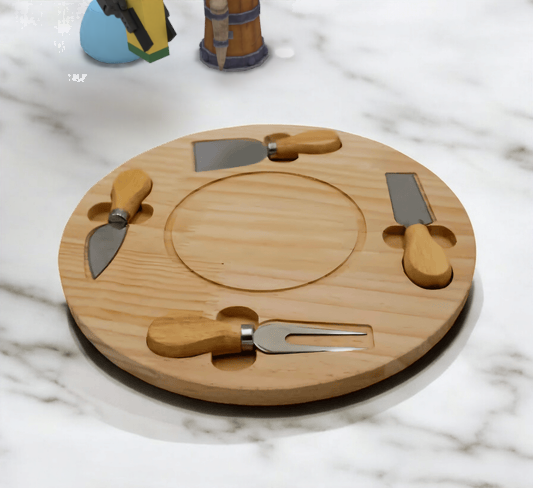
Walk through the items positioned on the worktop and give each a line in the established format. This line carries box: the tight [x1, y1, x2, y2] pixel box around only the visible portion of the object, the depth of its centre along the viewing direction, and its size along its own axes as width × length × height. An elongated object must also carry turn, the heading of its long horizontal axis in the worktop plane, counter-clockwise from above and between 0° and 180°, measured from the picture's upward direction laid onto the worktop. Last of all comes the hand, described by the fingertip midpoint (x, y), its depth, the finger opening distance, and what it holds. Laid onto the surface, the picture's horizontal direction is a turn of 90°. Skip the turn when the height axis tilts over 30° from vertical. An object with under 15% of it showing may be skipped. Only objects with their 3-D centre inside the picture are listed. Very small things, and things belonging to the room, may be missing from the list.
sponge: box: [125, 0, 171, 64], centre depth 106 cm, size 6×4×12 cm
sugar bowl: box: [79, 0, 141, 65], centre depth 131 cm, size 15×15×12 cm
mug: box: [198, 0, 269, 73], centre depth 125 cm, size 19×14×20 cm
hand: (160, 43), depth 106 cm, fingers closed on sponge, 4 cm apart
